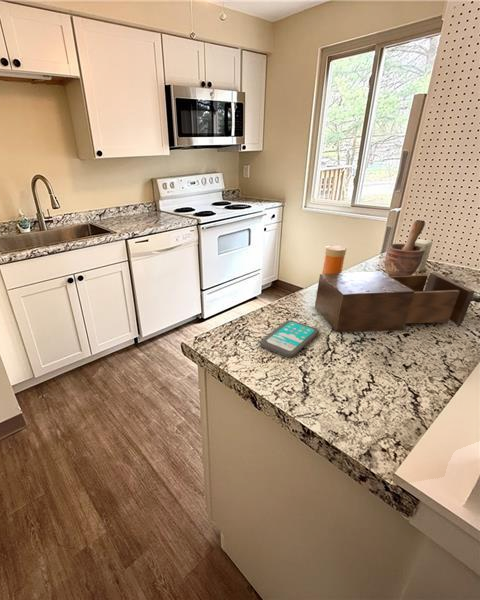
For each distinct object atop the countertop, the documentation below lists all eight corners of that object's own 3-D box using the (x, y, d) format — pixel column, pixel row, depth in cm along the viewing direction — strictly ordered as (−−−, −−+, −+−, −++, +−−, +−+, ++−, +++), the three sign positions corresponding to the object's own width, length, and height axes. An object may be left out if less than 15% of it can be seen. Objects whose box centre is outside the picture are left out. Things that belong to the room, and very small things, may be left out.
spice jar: (337, 291, 99) (346, 245, 92) (337, 298, 95) (346, 250, 88) (319, 289, 101) (326, 245, 95) (318, 295, 97) (325, 249, 91)
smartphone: (257, 341, 76) (288, 318, 84) (257, 345, 76) (287, 321, 85) (292, 355, 70) (321, 329, 78) (291, 359, 70) (320, 332, 78)
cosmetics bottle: (410, 265, 112) (418, 238, 107) (425, 268, 108) (434, 240, 104) (403, 269, 109) (410, 241, 105) (417, 272, 106) (426, 243, 102)
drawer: (444, 301, 85) (455, 271, 82) (484, 323, 74) (499, 290, 70) (368, 304, 88) (375, 275, 84) (396, 326, 77) (406, 294, 73)
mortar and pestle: (378, 277, 105) (392, 218, 97) (410, 281, 100) (428, 219, 92) (378, 290, 97) (394, 226, 88) (414, 294, 92) (434, 227, 84)
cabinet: (372, 305, 89) (380, 271, 84) (403, 330, 76) (415, 291, 72) (314, 307, 91) (319, 274, 86) (335, 332, 78) (343, 294, 74)
